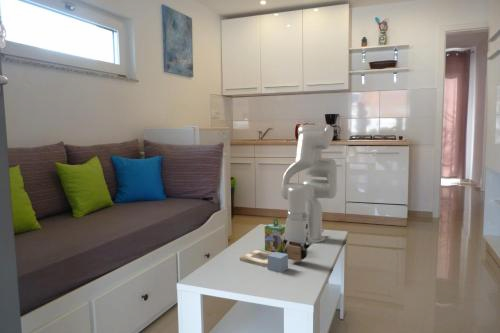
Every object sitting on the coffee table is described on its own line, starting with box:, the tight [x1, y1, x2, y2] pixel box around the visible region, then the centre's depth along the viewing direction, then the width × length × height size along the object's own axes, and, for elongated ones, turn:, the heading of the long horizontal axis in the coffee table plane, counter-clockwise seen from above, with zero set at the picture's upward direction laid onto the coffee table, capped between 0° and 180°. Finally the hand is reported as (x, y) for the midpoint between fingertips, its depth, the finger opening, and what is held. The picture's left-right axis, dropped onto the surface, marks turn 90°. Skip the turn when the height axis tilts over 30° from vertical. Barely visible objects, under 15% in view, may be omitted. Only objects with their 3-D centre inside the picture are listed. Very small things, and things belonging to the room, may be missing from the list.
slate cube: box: [267, 251, 289, 274], centre depth 151 cm, size 6×6×6 cm
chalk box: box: [264, 217, 287, 253], centre depth 177 cm, size 9×9×15 cm
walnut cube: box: [286, 242, 304, 263], centre depth 158 cm, size 6×6×6 cm
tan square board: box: [239, 248, 274, 268], centre depth 163 cm, size 14×14×2 cm
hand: (296, 256), depth 158 cm, fingers closed on walnut cube, 6 cm apart
